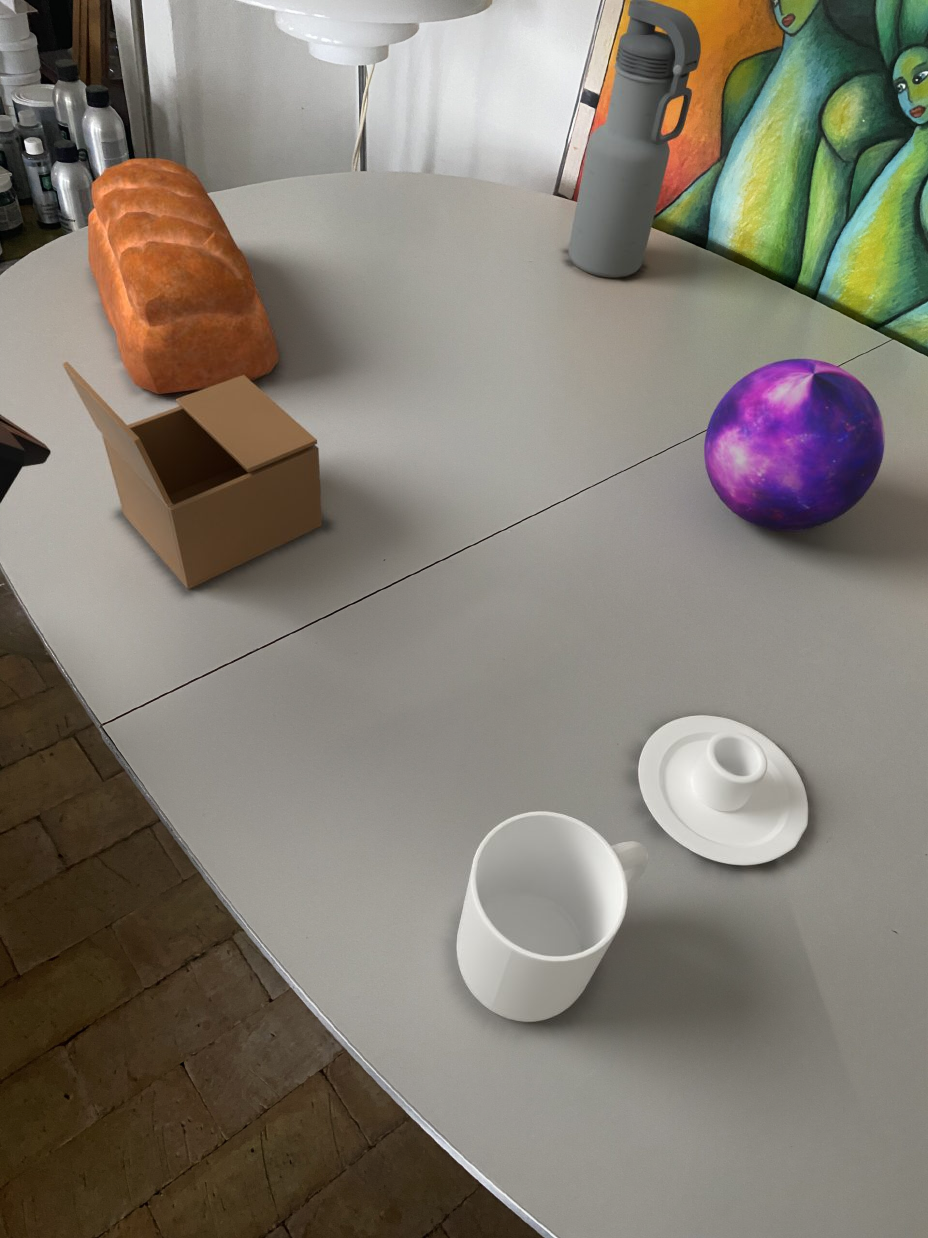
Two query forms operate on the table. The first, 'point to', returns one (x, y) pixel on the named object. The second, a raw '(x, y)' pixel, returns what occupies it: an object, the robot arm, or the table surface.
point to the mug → (542, 912)
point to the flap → (117, 432)
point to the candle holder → (723, 790)
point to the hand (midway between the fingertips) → (45, 454)
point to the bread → (174, 280)
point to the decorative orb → (794, 444)
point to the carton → (221, 480)
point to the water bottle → (633, 141)
